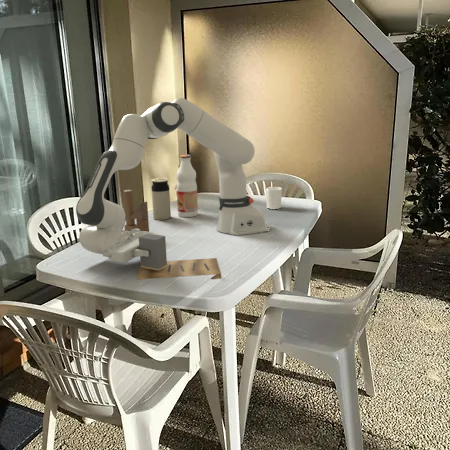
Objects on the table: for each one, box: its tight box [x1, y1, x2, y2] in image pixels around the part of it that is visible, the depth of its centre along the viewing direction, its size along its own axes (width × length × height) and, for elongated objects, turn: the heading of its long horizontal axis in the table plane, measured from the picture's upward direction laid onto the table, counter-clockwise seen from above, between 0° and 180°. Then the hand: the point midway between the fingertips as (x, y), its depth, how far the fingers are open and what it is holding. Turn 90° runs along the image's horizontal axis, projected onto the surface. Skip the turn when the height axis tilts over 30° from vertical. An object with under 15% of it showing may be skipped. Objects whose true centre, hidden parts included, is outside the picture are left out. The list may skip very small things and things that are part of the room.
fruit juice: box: [175, 154, 199, 218], centre depth 213 cm, size 9×9×28 cm
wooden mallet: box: [123, 189, 150, 232], centre depth 187 cm, size 4×11×18 cm, turn 56°
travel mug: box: [150, 177, 172, 221], centre depth 210 cm, size 8×8×18 cm
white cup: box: [265, 186, 283, 209], centre depth 224 cm, size 8×8×10 cm
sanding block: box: [139, 233, 168, 270], centre depth 146 cm, size 7×4×10 cm, turn 62°
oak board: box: [136, 257, 222, 280], centre depth 149 cm, size 26×14×2 cm, turn 97°
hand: (155, 250), depth 146 cm, fingers closed on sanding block, 4 cm apart
